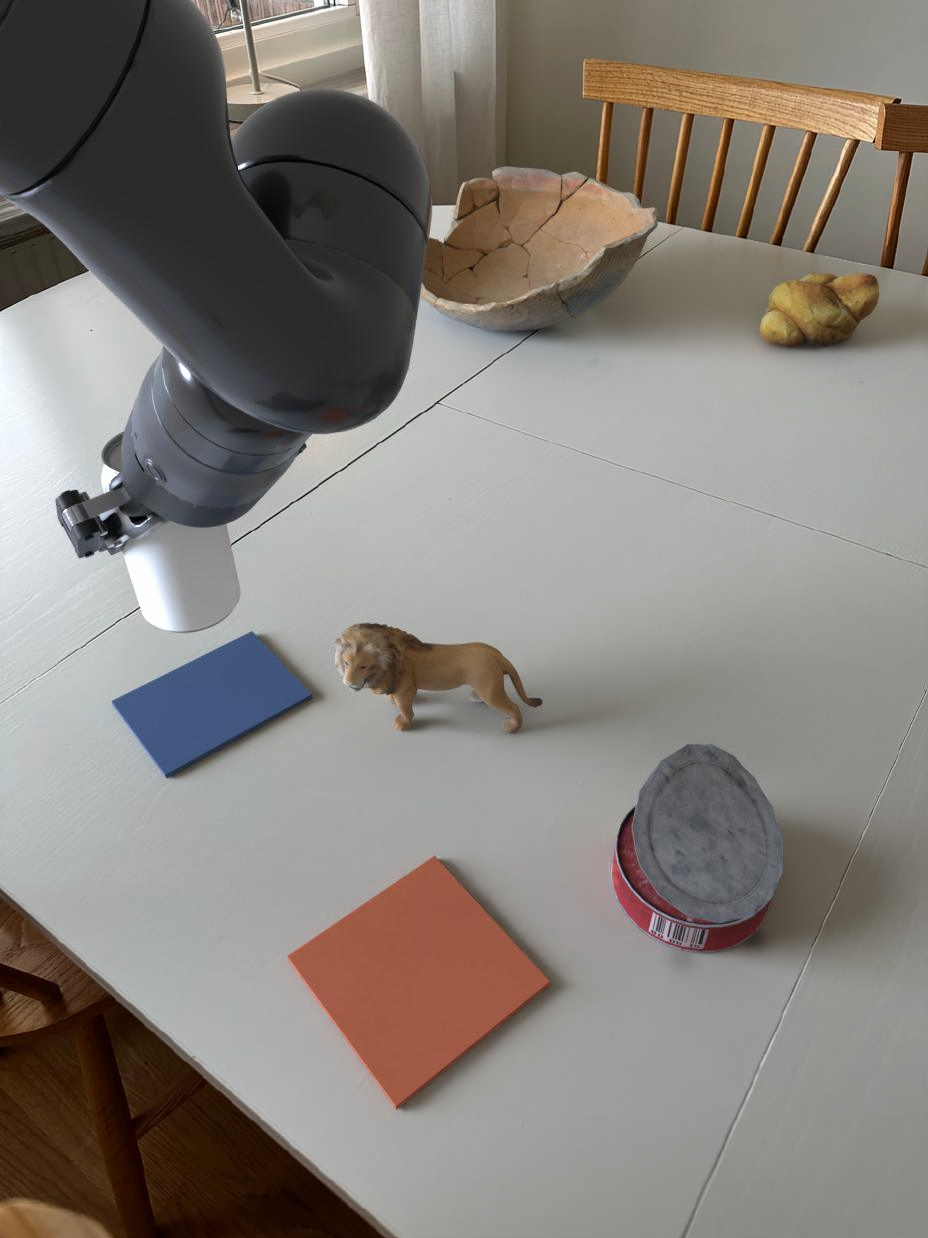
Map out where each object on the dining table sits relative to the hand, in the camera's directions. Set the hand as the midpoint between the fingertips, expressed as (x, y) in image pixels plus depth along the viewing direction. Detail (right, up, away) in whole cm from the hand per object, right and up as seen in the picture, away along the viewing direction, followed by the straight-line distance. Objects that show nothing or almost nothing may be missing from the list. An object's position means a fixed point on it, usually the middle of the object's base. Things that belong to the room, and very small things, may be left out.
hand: (160, 516), depth 61 cm
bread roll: (+59, +27, +54) cm, 84 cm away
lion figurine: (+17, -14, +11) cm, 24 cm away
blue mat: (0, -13, +12) cm, 17 cm away
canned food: (+33, -23, 0) cm, 41 cm away
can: (+1, -6, +3) cm, 7 cm away
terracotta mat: (+16, -27, -4) cm, 32 cm away
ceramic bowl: (+27, +33, +61) cm, 74 cm away
